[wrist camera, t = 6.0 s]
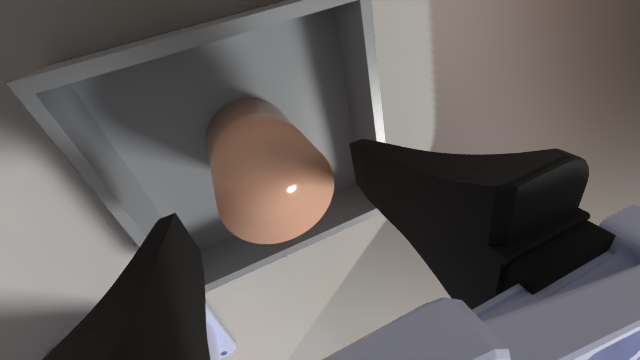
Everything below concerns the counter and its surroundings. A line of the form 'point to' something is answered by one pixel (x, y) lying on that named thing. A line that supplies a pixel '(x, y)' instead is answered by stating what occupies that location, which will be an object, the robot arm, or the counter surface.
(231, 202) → the peach rounded cylinder
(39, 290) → the counter surface
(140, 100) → the bin
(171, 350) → the robot arm
